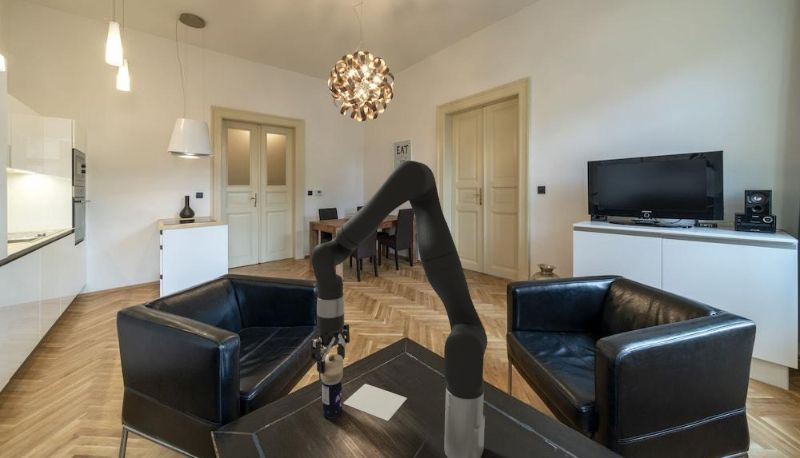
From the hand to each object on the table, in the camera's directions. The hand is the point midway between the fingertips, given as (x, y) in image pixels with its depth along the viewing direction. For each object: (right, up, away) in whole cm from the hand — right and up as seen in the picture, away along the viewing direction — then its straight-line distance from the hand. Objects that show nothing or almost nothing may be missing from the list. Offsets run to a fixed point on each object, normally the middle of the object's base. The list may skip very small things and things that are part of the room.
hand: (331, 365), depth 97 cm
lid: (0, -3, 0) cm, 3 cm away
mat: (+12, -14, +8) cm, 20 cm away
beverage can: (0, -15, +2) cm, 15 cm away
